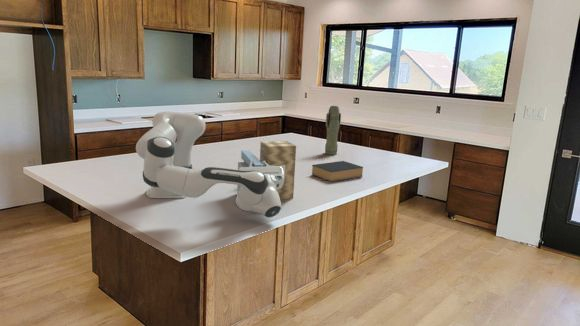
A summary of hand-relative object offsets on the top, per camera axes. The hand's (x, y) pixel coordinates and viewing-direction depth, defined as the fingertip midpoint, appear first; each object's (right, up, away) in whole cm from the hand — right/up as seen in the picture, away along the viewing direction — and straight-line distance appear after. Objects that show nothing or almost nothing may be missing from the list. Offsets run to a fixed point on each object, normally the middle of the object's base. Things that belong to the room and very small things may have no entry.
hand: (257, 161), depth 195 cm
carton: (+8, -17, +20) cm, 27 cm away
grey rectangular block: (-5, -17, +14) cm, 23 cm away
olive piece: (+45, +6, +125) cm, 133 cm away
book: (+43, -9, +63) cm, 76 cm away
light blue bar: (-3, -2, +10) cm, 10 cm away
